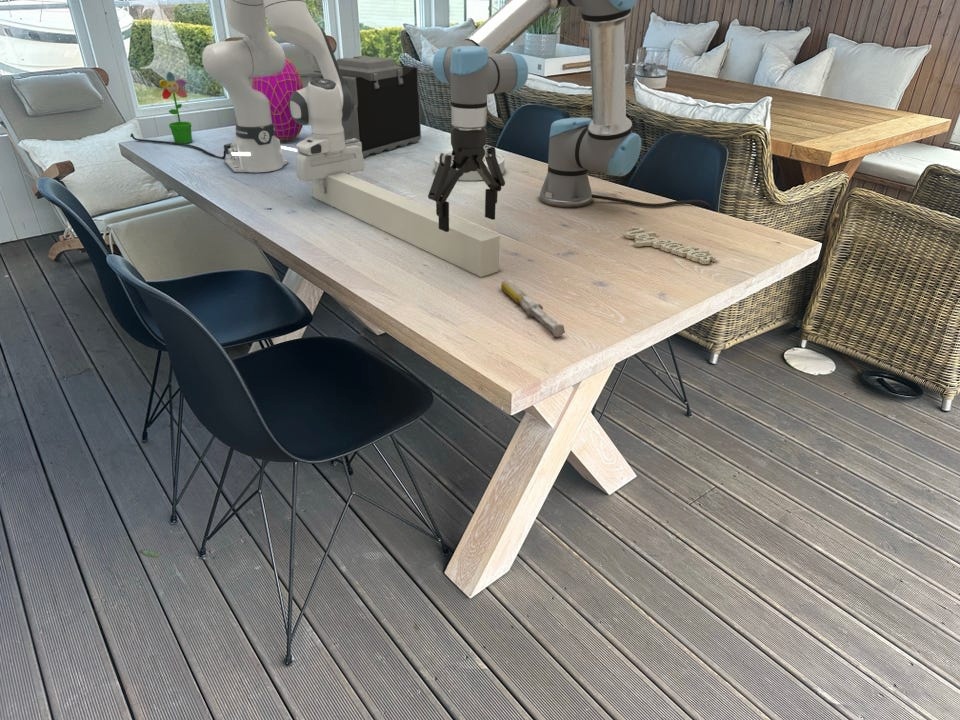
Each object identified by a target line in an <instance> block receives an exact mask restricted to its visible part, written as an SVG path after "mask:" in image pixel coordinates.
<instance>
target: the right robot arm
mask: <svg viewBox="0 0 960 720" xmlns="http://www.w3.org/2000/svg"><path fill="white" fill-rule="evenodd" d="M637 2H638V0H508V1H507V2H505V3H504V4H503V5H502V6H501V7H500V8H499V9H497V11H495V12H494V13H492V15H491V16H490V17H488V18H487V19H486V20H485V21H483V22H482V23H481V24H480V25H479V26H478V27H476V29H474V30H473V31H472V32H471V33H470V34H469V35H468V36H466V37H465V38H464V39H463V40H461V42H459V43H458V44H457V45H455V46H454V47H452V46H448V47H445V46H444V47H441V48H439V49H438V50H437V51H436V52H435V54H434V56H433V58H432V71H433V74H434V77H435V78H436V79H437V80H438V81H439V82H440V83H441V82H442V83H444V84H447V85H450V125H451V126H452V127H451V128H450V145H451V148H452V150H451V151H452V154H444V153H445V152H441V153H440V161H439V166H438V169H437V172H436V173H435V174H434V178H433V181H432V183H431V186H430V189H429V192H428V194H427V198H428V199H429V200H431V201H434V202H435V208H436V209H435V210H436V214H437V216H439V229H440V230H443V231H445V232H449V215H450V202H449V201H447V200H448V198H449V196H450V194H451V193H452V191H453V189H454V187H455V186H456V184H457V182H458V181H459V180H458V179H459V177H461V176H462V175H463V174H464V173H468V172H470V171H476V170H477V172H478V173H479V175H480V176H481V177H482V179H483V180H482V181H483V182H484V184H485V185H486V186H487V187H488V188H486V189H485V191H484V192H485V193H484V196H485V197H484V218H487V219H489V220H492V221H493V220H496V204H497V203H498V192H501V191H502V187H504V186H505V185H506V181H505V178H504V175H503V174H502V172H501V170H500V167H499V164H498V161H497V159H496V154H497V153H496V152H497V151H496V147H494V146H491V145H487V129H486V126H487V121H488V120H487V118H488V117H487V116H488V115H487V114H488V113H487V111H488V95H493V94H500V93H507V92H508V93H511V92H514V91H517V90H520V89H522V88H523V87H524V86H525V84H526V83H527V81H528V77H529V67H528V63H527V61H526V59H525V58H524V57H523V56H522V55H521V54H519V53H516V52H515V53H513V52H505V53H503V52H504V51H505V50H506V49H507V48H508V47H510V45H512V44H513V43H514V42H515V41H516V40H517V39H518V38H519V37H521V36H522V35H523V34H524V33H525V32H526V31H527V30H529V29H530V28H531V27H532V26H533V25H534V24H535V23H537V21H539V20H540V19H541V18H542V17H543V16H547V15H551V14H553V13H554V12H555V11H556V10H558V9H560V8H565V7H579V8H580V12H581V13H580V14H581V21H583V22H584V23H585V24H586V25H587V26H588V44H589V45H588V47H589V62H590V83H591V84H590V85H591V103H592V118H590V117H569V118H568V117H567V118H562V119H557V120H554V121H553V122H552V123H551V125H550V129H549V130H550V131H549V135H548V139H549V141H548V156H547V158H548V159H547V173H546V176H545V178H544V181H543V184H542V187H541V189H540V192H539V200H540V202H542V203H543V204H546V205H549V206H553V207H558V208H559V207H560V208H580V207H584V206H588V205H589V204H591V203H592V199H598V200H604V201H611V202H617V203H624V204H629V205H633V206H639V207H649V208H662V207H663V208H664V207H669V206H674V205H691V204H700V205H703V206H705V207H706V208H707V209H710V210H711V209H713V207H712V205H711V204H710V203H708V202H707V201H705V200H702V199H689V200H688V199H687V200H674V201H667V202H660V203H652V202H650V203H649V202H642V201H641V202H640V201H635V200H631V199H625V198H618V197H612V196H607V195H599V194H593V193H592V188H591V184H590V179H589V171H592V172H597V173H601V174H605V175H607V176H616V177H624V176H626V175H627V174H629V173H630V172H631V171H632V170H633V168H634V167H635V165H637V162H638V160H639V157H640V155H641V150H642V137H641V136H640V135H639V134H638V133H636V132H633V122H632V120H631V119H630V118H629V117H627V98H626V97H627V95H626V93H627V91H626V35H625V34H626V33H625V21H626V20H627V18H629V16H630V15H631V14H632V13H631V12H632V8H633V7H634V6H635V5H636V4H637ZM484 156H485V159H486V162H487V165H488V167H489V170H490V172H489V171H488V170H487V166H486V165H485V164H484V162H483V161H482V160H483V158H484ZM452 161H453V162H452ZM451 164H452V165H451ZM456 168H457V169H458V170H456ZM490 173H491V174H490Z"/></svg>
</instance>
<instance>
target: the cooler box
mask: <svg viewBox="0 0 960 720" xmlns="http://www.w3.org/2000/svg"><path fill="white" fill-rule="evenodd" d="M336 61H337V64H338V66H339V69H340V72H341V74H342V77H343V79H344V82H345V84H346V86H347V88H348V90H349V91H350V93H351V95H352V98H353V101H354V110H353V113H352V115H351V117H350V118H349V119H348V120H347V121H346V122H344V123H342V126H343V128H344V137H345V140H346V139H352V138H357V139H358V140H360V142H361V143H362V154H363V158H366V157H367V158H368V157H369V155H371V154H375V155H377V154H381V153H382V152H383V151H391V150H395V149H396V148H397V147H405V146H407V145H408V144H416V143H418V142H419V141H421V137H422V128H421V97H420V92H419V91H420V89H419V68H418V67H417V66H408V65H400V64H396V62H395V60H394V59H393V58H385V57H377V56H367V55H356V56H353V57H350V58H349V57H343V58H342V57H341V58H336ZM319 78H322V79H324V78H323V75H322V73H321V70H314V71H313V70H312V71H310V79H311V80H313V79H319Z"/></svg>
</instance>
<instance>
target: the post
mask: <svg viewBox="0 0 960 720" xmlns="http://www.w3.org/2000/svg"><path fill="white" fill-rule="evenodd" d="M322 181H323V182H322V183H321V184H322V185H323V186H324V187H326V188H327V193H326V194H321V193H320V191H319V187H318V186H317V184H316V183H315V180H313V181H311V187H312V196H313V198H314V199H316V200H318V201H319V202H322V203H324V204H326V205H329V206H330V207H333V208H334V209H337V210H339V211H341V212H344V213H346V214H347V215H350V216H351V217H354V218H356V219H358V220H360V221H362V222H365V223H367V224H369V225H370V226H373V227H375V228H377V229H379V230H381V231H383V232H385V233H387V234H390V235H391V236H394V237H396V238H398V239H399V240H402V241H404V242H405V243H408V244H410V245H412V246H415V247H417V248H420V249H421V250H423V251H426V252H427V253H429V254H432V255H434V256H435V257H438V258H440V259H442V260H444V261H447V262H448V263H451V264H452V265H455V266H457V267H459V268H461V269H462V270H465V271H467V272H470V273H472V274H473V275H476V276H478V277H480V278H483V277H486V276H489V275H492V274H494V273H498V272H499V271H500V248H501V247H500V245H501V240H500V239H501V235H499V234H496V233H494V232H491V231H489V230H486V229H484V228H481V227H480V226H477V225H474V224H472V223H469V222H466V221H464V220H461V219H459V218H457V217H455V216H452V215H450V214H449V232H445V231H443V230H440V229H439V216H437V214H436V209H434V208H433V207H430V206H427V205H425V204H423V203H419V202H417V201H415V200H412V199H411V198H408V197H405V196H402V195H400V194H398V193H395V192H393V191H390V190H388V189H385V188H383V187H380V186H378V185H376V184H373V183H371V182H368V181H365V180H364V179H361V178H358V177H355V176H353V175H351V174H350V175H349V174H346V173H344V172H343V173H338V174H333V175H328V176H327V178H323V179H322Z"/></svg>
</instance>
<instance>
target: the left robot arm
mask: <svg viewBox="0 0 960 720" xmlns="http://www.w3.org/2000/svg"><path fill="white" fill-rule="evenodd" d="M225 12H226V15H225V16H226V20H227V23H228V24H229V26H230V27H231V28H232V29H234V30H235V31H237V32H238V33H240V34H243V39H240V40H223V41H218V42H215V43H212V44H211V43H210V44H209V45H206V46H205V48H204V49H203V51H202V57H201V59H202V64H203V67H204V70H205V71H206V73H207V74H208V75H209V76H210V77H211V78H212V79H213V80H215V81H217V82H218V83H219V84H220V85H221V86H222V87H223V88H224V89H225V90H226V91H227V93H228V95H229V98H230V100H231V102H232V106H233V111H234V116H235V120H236V124H235V136H236V137H235V138H234V139H233V141H232V142H230V143H226V144H223V148H224V150H223V156H218V155H215V154H214V153H211V152H209V151H207V150H205V149H204V148H201V147H199V146H196V145H193V144H189V143H176V142H175V141H166V140H155V139H143V138H137V137H135V135H134V133H130V138H132V139H133V140H134V141H137V142H147V143H155V144H157V143H158V144H167V145H178V146H184V147H189V148H193V149H197V150H199V151H202V152H204V153H205V154H207V155H208V156H211V157H214V158H215V159H221V160H224V159H225V160H224V163H225V164H226V165H227V166H228V168H230V169H231V171H233V172H234V173H257V174H258V173H268V172H273V171H277V170H278V171H279V170H280V169H282V168H284V165H288V160H287V159H285V158H284V156H283V150H287V151H291V152H296V153H297V152H298V153H297V155H296V156H295V171H296V177H297V179H299V180H300V181H302V182H304V183H307V182H312V181H313V180H315V183H316V184H317V186H318V187H319V191H320V193H321V194H326V193H327V188H326V187H324V186H323V185H322V184H321V183H322V182H323V181H322V179H323V178H327V176H328V175H333V174H338V173H343V172H344V173H346V174H349V175H351V174H353V173H359V172H363V171H364V170H365V166H366V165H365V159H364V158H365V157H363V154H362V143H361V142H360V140H358V139H357V138H352V139H346V140H345V137H344V128H343V126H342V123H344V122H346V121H347V120H348V119H349V118H350V117H351V115H352V113H353V110H354V101H353V98H352V95H351V93H350V91H349V90H348V88H347V86H346V84H345V82H344V79H343V77H342V74H341V72H340V69H339V66H338V64H337V58H336V56H335V53H334V50H333V49H332V45H331V43H330V41H329V38H328V36H327V34H326V32H325V30H324V29H323V27H322V26H321V25H319V24H317V22H315V20H314V18H313V17H312V15H311V13H310V11H309V9H308V5H307V2H306V0H225ZM267 22H268V25H269V28H270V29H271V31H272V33H273V34H275V36H277V37H278V38H279V39H280V40H282V41H283V42H285V43H288V44H290V45H294V46H297V47H299V48H302V49H304V50H306V51H307V52H309V53H310V54H311V55H312V56H313V57H314V58H315V60H316V62H317V65H318V68H319V71H321V73H322V75H323V78H324V79H322V78H319V79H313V80H312V79H311V80H309V81H308V83H307V85H306V86H305V87H304V88H303V89H300V90H298V91H294V92H293V94H292V95H291V97H290V100H289V110H290V115H291V117H292V118H293V119H294V120H295V121H296V122H297V123H298V124H300V125H303V126H306V127H308V126H311V135H310V136H308V137H306V138H304V139H303V140H300V141H299V142H296V145H295V147H296V148H293V147H288V146H285V145H281V141H280V140H279V139H278V138H276V137H275V127H274V124H273V122H272V118H271V111H270V104H269V100H268V98H267V97H266V96H265V95H264V94H263V93H261V92H259V91H257V90H255V89H252V84H251V83H250V80H251V79H252V78H258V77H268V76H272V75H275V74H277V73H280V72H282V70H283V69H284V66H285V58H286V53H285V51H284V49H283V47H282V45H280V43H278V41H276V40H275V39H274V38H273V37H272V35H271V34H270V32H269V30H268V26H267ZM227 155H229V157H228V158H226V156H227Z"/></svg>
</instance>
